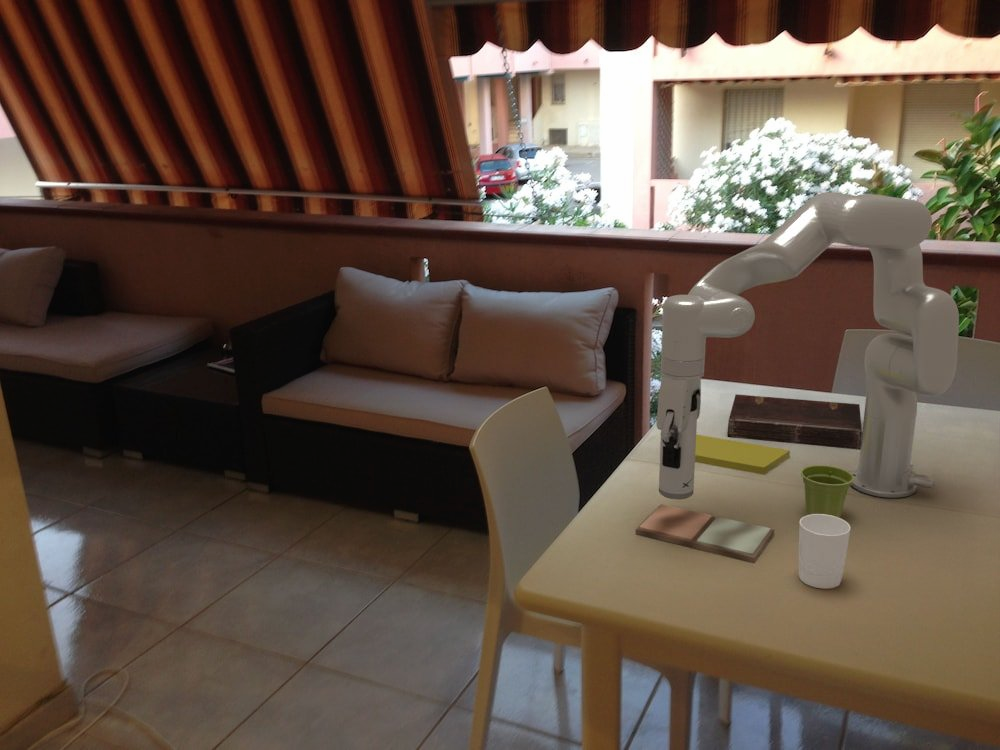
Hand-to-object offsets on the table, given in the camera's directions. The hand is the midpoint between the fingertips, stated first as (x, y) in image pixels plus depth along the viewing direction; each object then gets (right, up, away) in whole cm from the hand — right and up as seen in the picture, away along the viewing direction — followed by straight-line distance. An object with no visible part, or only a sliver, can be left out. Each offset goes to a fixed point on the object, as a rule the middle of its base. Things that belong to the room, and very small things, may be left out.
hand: (678, 459), depth 169 cm
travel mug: (0, -7, +2) cm, 7 cm away
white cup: (+21, -19, -15) cm, 31 cm away
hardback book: (+37, +2, +52) cm, 64 cm away
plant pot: (+29, -12, +7) cm, 32 cm away
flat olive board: (+18, -3, +37) cm, 41 cm away
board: (+5, -14, +1) cm, 15 cm away
